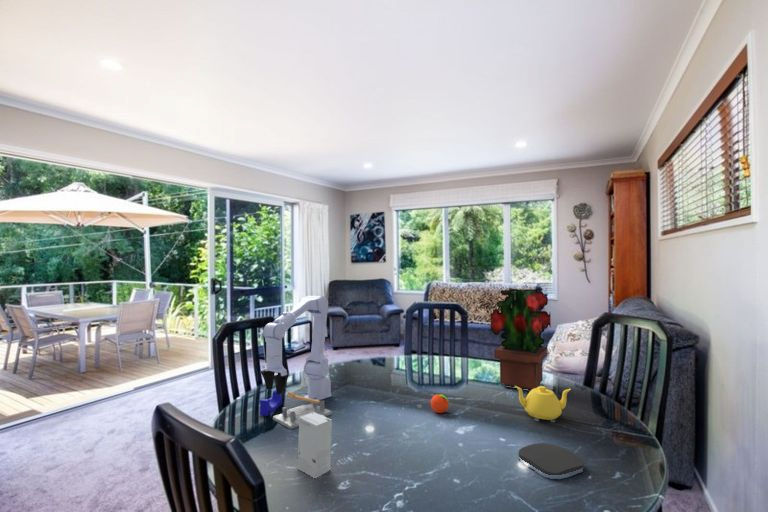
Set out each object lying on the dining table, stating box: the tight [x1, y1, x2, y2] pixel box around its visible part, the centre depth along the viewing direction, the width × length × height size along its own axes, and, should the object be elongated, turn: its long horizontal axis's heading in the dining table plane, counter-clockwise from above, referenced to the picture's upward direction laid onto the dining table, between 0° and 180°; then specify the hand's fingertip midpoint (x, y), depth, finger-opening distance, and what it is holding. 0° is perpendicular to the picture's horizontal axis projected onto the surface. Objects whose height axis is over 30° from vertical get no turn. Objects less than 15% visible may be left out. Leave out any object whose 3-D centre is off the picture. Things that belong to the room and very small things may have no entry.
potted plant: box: [489, 288, 552, 390], centre depth 181 cm, size 22×22×45 cm
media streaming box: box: [518, 442, 585, 475], centre depth 112 cm, size 15×15×3 cm
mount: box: [272, 397, 332, 430], centre depth 146 cm, size 18×12×5 cm, turn 136°
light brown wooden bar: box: [286, 391, 321, 406], centre depth 147 cm, size 15×4×2 cm, turn 136°
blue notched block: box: [259, 389, 283, 417], centre depth 154 cm, size 12×4×6 cm, turn 169°
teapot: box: [515, 385, 572, 421], centre depth 145 cm, size 20×15×12 cm
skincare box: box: [296, 412, 333, 479], centre depth 109 cm, size 8×6×15 cm
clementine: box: [430, 393, 450, 414], centre depth 150 cm, size 8×7×7 cm
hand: (274, 391), depth 146 cm, fingers open, 7 cm apart
